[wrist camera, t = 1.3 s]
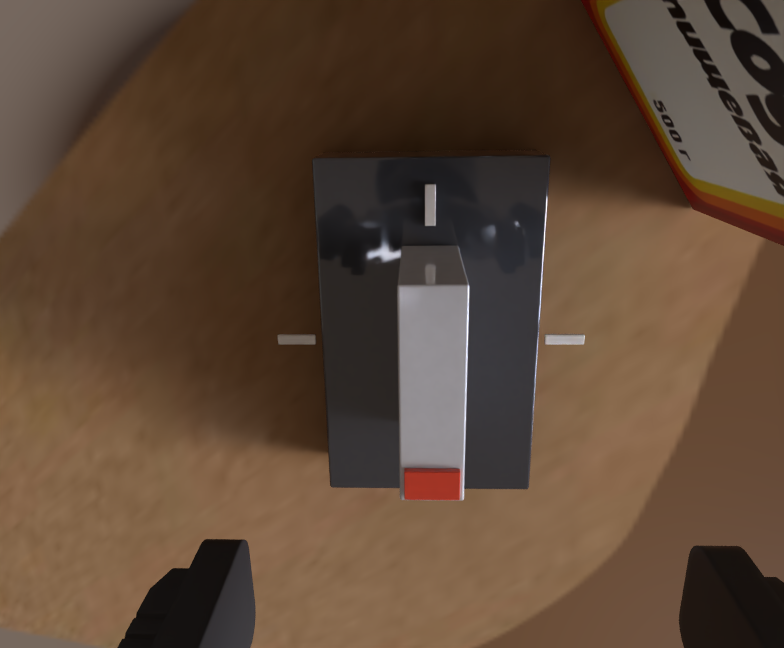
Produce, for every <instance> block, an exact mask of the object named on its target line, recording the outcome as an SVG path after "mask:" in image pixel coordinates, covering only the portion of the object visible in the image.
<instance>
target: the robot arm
mask: <svg viewBox="0 0 784 648" xmlns="http://www.w3.org/2000/svg"><path fill="white" fill-rule="evenodd" d="M679 625H680V632H681V638H682V642H683V645H684V648H784V583H783V582H782V581H781V580H779V579H778V578H776V577H764V576H763V575H762V573H761V572H760V570H759V569H758V568H757V566H756V565H755V564H754V563H753V561H752V560H751V558H750V557H749V556H748V554H747V553H746V552H745V550H744V549H742V548H741V547H739V546H694V547H693V548H692V549H691V551H690V554H689V559H688V565H687V571H686V577H685V583H684V589H683V596H682V601H681V607H680V614H679ZM254 627H255V599H254V590H253V581H252V572H251V563H250V554H249V547H248V543H247V541H246V540H228V539H206V540H204V541H203V542H202V544H201V545H200V547H199V549H198V551H197V553H196V555H195V558H194V560H193V562H192V564H191V566H190V568H189V569H185V568H173V569H171V570H170V571H169V572H168V573H167V574H166V575H165V576H164V577H163V578H162V579H160V580H159V581H158V582H157V583H156V584H155V585H154V586H153V587H152V588H150V590H149V592H148V593H147V595H146V597H145V599H144V601H143V602H142V604H141V606H140V608H139V610H138V612H137V615H136V618H134V619H133V621H132V622H131V624H130V626H129V628H128V630H127V632H126V633H125V639H122V641H121V642H120V644H119V646H118V648H250V647H251V643H252V639H253V634H254Z"/></svg>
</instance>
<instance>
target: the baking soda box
mask: <svg viewBox="0 0 784 648" xmlns="http://www.w3.org/2000/svg"><path fill="white" fill-rule="evenodd" d="M581 2H582V4H583V6H584V7H585V9H586V11H587V13H588V15H589V17H590V19H591V20H592V22H593V24H594V26H595V28H596V30H597V32H598V34H599V35H600V37H601V39H602V41H603V43H604V45H605V47H606V48H607V50H608V52H609V54H610V56H611V58H612V60H613V61H614V63H615V65H616V67H617V69H618V71H619V73H620V74H621V76H622V78H623V80H624V82H625V84H626V86H627V87H628V89H629V91H630V93H631V95H632V97H633V99H634V101H635V102H636V104H637V106H638V108H639V110H640V112H641V114H642V115H643V117H644V119H645V121H646V123H647V125H648V127H649V128H650V130H651V132H652V134H653V136H654V138H655V140H656V141H657V143H658V145H659V147H660V149H661V151H662V153H663V154H664V156H665V158H666V160H667V162H668V164H669V166H670V167H671V169H672V171H673V173H674V175H675V177H676V179H677V181H678V182H679V184H680V186H681V188H682V190H683V192H684V194H685V195H686V197H687V199H688V201H689V203H690V205H691V207H692V208H693V209H694V210H696V211H699V212H701V213H704V214H706V215H709V216H711V217H714V218H716V219H719V220H721V221H723V222H726V223H728V224H731V225H733V226H736V227H738V228H741V229H743V230H746V231H748V232H751V233H753V234H756V235H758V236H761V237H763V238H766V239H768V240H771V241H773V242H775V243H778V244H780V245H783V246H784V0H581Z"/></svg>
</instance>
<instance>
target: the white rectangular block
mask: <svg viewBox="0 0 784 648" xmlns="http://www.w3.org/2000/svg"><path fill="white" fill-rule="evenodd" d="M469 288H470V287H469V283H468V279H467V276H466V272H465V268H464V265H463V261H462V257H461V254H460V250H459V247H458V246H402V248H401V255H400V264H399V274H398V283H397V324H398V399H399V473H400V499H401V500H463V499H464V477H465V439H466V401H467V364H468V326H469Z"/></svg>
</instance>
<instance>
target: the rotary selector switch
mask: <svg viewBox="0 0 784 648" xmlns="http://www.w3.org/2000/svg"><path fill="white" fill-rule="evenodd" d="M550 159H551V157H550V155H547V154H545V153H543V152H540V151H538V150H536V149H533V150H456V151H379V152H323V153H322V154H320V155H318V156H316V157H315V158H313V159H312V171H313V189H314V207H315V224H316V242H317V260H318V278H319V295H320V313H321V331H322V349H323V367H324V384H325V402H326V420H327V438H328V455H329V473H330V486H331V487H337V488H400V473H399V399H398V324H397V283H398V274H399V264H400V255H401V248H402V246H458V247H459V250H460V254H461V257H462V261H463V265H464V268H465V272H466V276H467V279H468V283H469V287H470V288H469V326H468V364H467V401H466V439H465V477H464V489H528V487H529V476H530V461H531V446H532V431H533V415H534V400H535V385H536V370H537V355H538V340H539V325H540V310H541V295H542V280H543V265H544V249H545V234H546V219H547V204H548V189H549V174H550ZM584 338H585V335H584V334H545V342H544V343H545V344H584ZM278 344H316V334H278Z"/></svg>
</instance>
